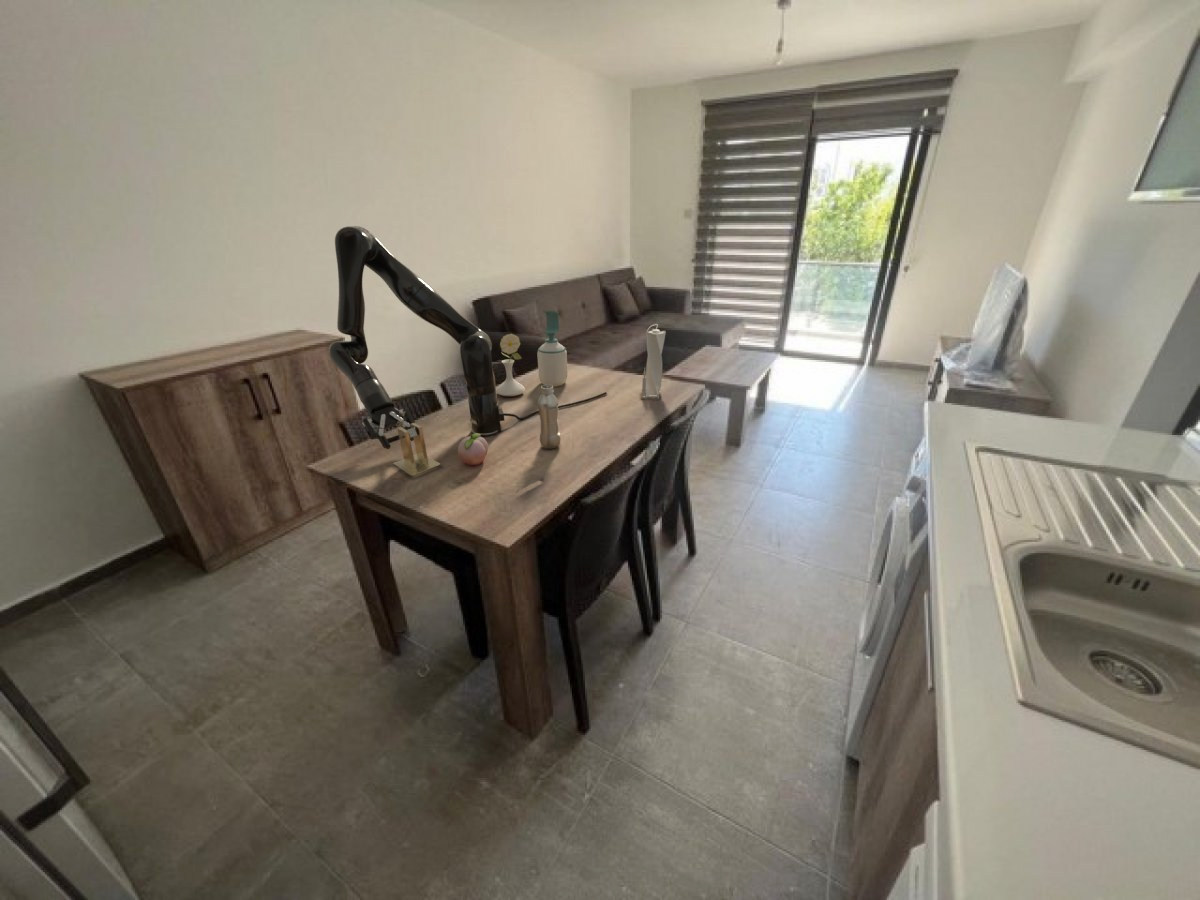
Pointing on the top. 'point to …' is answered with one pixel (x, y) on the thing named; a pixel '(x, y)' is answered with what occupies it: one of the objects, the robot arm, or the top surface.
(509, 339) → the flower in vase
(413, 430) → the lever
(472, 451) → the decorative fruit
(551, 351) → the soap bottle
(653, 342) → the skyscraper
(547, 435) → the plastic bottle
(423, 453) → the bracket
